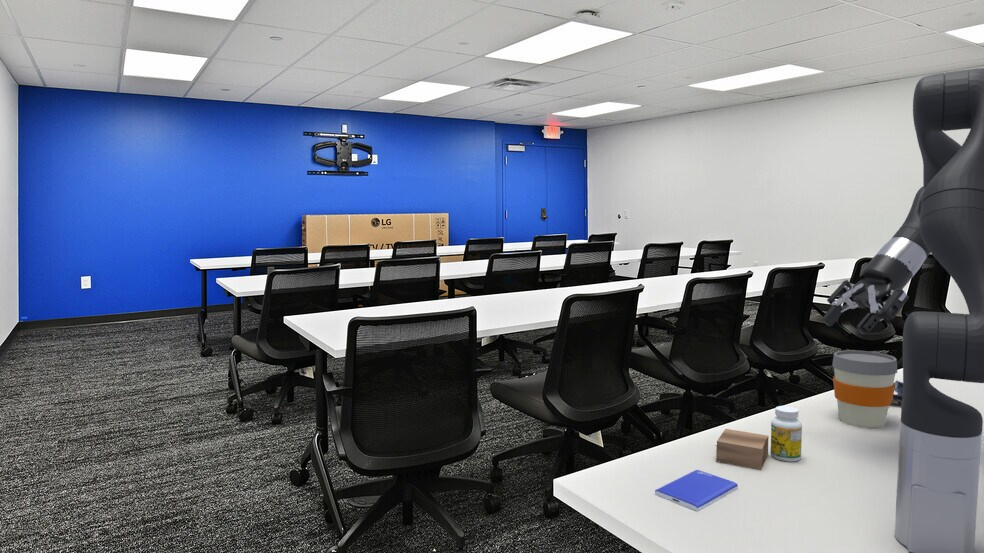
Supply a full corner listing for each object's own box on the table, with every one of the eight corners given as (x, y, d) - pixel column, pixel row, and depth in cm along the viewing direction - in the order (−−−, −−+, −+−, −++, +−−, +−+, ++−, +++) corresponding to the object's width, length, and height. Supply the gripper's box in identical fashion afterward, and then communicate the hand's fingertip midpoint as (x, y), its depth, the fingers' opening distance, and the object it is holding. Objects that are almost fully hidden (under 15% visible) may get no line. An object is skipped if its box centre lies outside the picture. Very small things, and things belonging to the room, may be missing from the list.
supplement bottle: (807, 460, 118) (809, 411, 117) (784, 464, 116) (786, 414, 115) (786, 450, 123) (787, 403, 122) (764, 453, 121) (765, 406, 120)
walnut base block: (761, 470, 114) (761, 449, 113) (716, 461, 118) (716, 441, 117) (767, 455, 120) (768, 435, 120) (725, 447, 125) (725, 428, 124)
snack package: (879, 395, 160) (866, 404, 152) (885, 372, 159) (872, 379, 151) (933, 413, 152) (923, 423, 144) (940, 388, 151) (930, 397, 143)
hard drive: (695, 468, 112) (654, 488, 104) (737, 482, 106) (697, 505, 98) (695, 477, 112) (654, 497, 105) (737, 491, 106) (697, 514, 98)
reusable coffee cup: (907, 426, 136) (911, 359, 134) (867, 434, 131) (871, 365, 130) (855, 409, 147) (858, 348, 146) (817, 416, 143) (819, 353, 141)
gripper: (854, 250, 127) (805, 309, 126) (916, 255, 113) (861, 321, 112) (874, 274, 129) (826, 332, 128) (937, 282, 115) (884, 347, 114)
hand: (842, 327), depth 120 cm, fingers open, 8 cm apart
